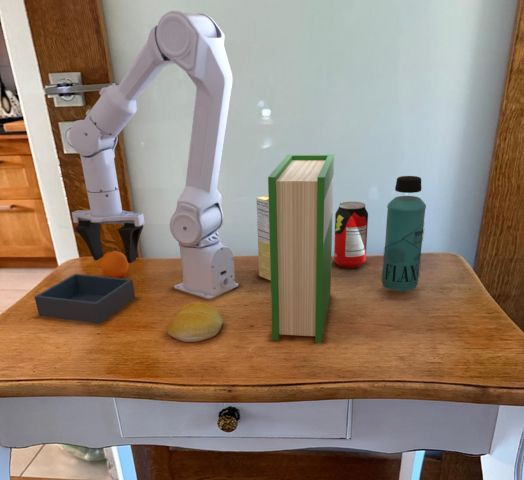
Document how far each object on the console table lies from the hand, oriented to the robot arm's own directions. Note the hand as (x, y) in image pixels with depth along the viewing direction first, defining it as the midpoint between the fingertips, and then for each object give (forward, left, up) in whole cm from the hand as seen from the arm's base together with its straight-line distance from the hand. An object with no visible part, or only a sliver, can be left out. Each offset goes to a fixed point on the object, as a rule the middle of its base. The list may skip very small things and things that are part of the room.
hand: (115, 260), depth 108 cm
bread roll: (-30, +8, -4) cm, 31 cm away
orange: (0, 0, -4) cm, 4 cm away
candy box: (-26, -20, -4) cm, 33 cm away
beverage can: (-34, -32, -4) cm, 47 cm away
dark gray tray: (-8, +13, -4) cm, 15 cm away
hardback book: (-41, -6, -4) cm, 41 cm away
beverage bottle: (-49, -24, -4) cm, 55 cm away
